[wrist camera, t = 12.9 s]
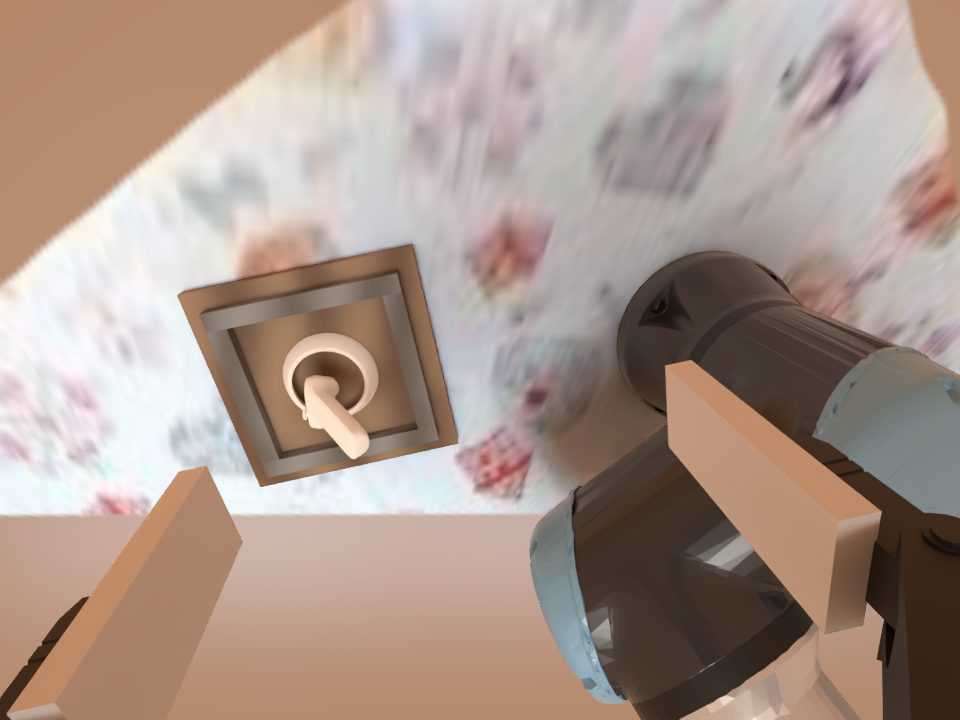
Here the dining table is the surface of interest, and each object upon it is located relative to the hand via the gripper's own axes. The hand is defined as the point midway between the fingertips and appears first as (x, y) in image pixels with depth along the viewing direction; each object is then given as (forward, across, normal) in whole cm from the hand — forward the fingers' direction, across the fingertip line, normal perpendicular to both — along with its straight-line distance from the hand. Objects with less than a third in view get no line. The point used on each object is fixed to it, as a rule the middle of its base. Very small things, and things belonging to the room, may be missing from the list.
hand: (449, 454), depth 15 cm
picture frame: (+29, +10, +8) cm, 31 cm away
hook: (+28, +10, +8) cm, 31 cm away
